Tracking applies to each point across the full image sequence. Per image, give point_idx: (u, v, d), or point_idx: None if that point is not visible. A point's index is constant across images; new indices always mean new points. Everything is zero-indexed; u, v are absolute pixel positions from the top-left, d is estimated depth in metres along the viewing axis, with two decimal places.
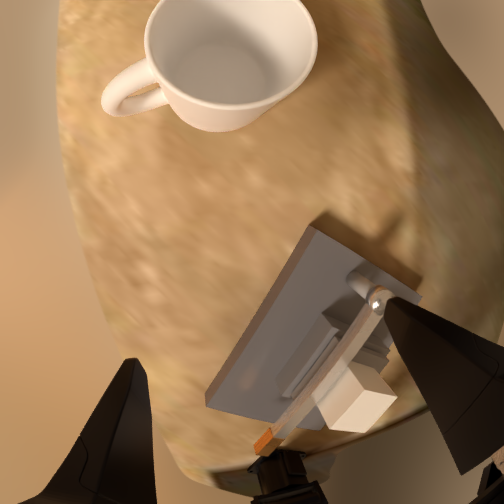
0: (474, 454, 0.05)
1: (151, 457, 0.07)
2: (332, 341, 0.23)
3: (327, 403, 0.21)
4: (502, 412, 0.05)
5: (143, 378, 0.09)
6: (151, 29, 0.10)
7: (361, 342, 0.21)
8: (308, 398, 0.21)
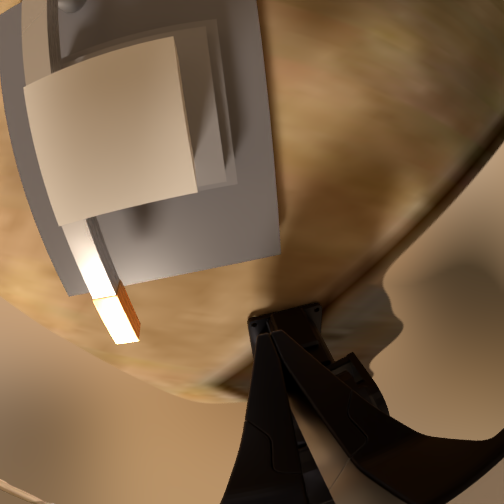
0: None
1: None
2: None
3: None
4: (365, 499, 0.04)
5: None
6: None
7: (41, 37, 0.06)
8: None
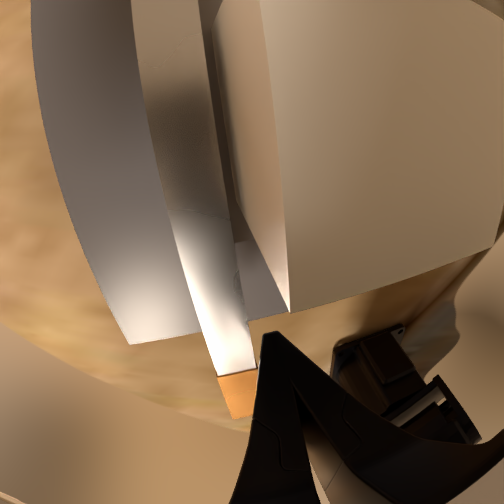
0: None
1: None
2: None
3: (248, 190, 0.05)
4: (358, 502, 0.04)
5: None
6: None
7: None
8: (170, 215, 0.06)
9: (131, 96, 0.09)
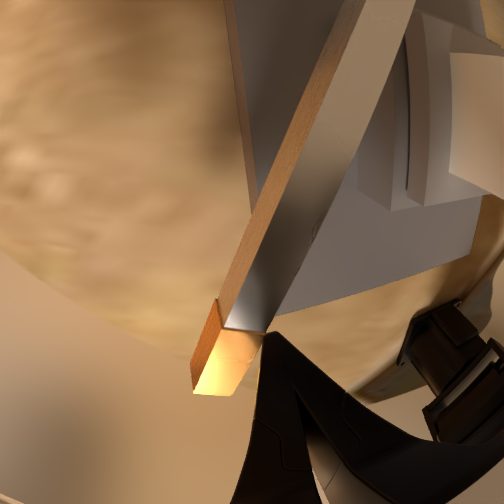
0: None
1: None
2: (407, 26, 0.06)
3: (498, 164, 0.06)
4: (358, 502, 0.04)
5: None
6: None
7: None
8: (315, 122, 0.05)
9: None
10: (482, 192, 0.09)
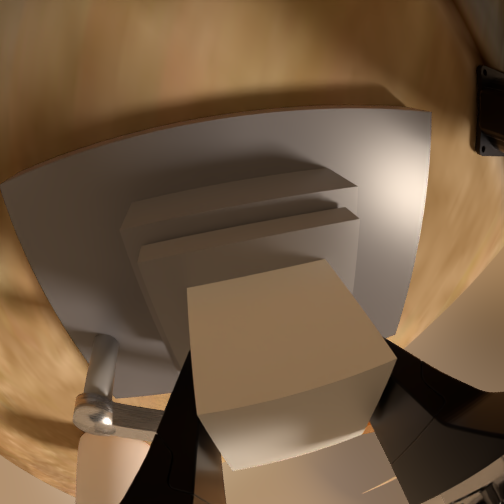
0: (421, 490, 0.05)
1: None
2: None
3: None
4: (445, 456, 0.04)
5: None
6: None
7: None
8: None
9: None
10: (349, 291, 0.10)
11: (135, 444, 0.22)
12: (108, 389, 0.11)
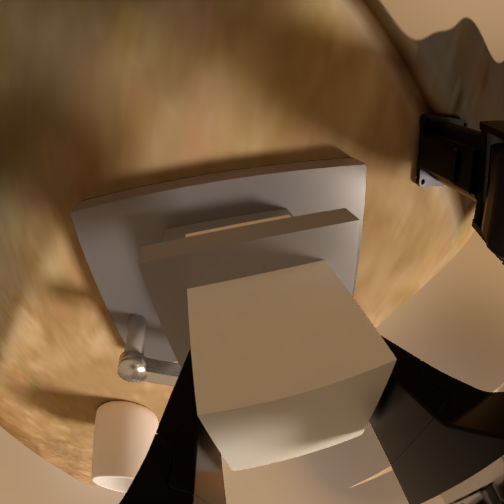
0: (421, 490, 0.05)
1: None
2: None
3: None
4: (445, 456, 0.04)
5: None
6: None
7: None
8: None
9: None
10: (349, 292, 0.10)
11: (144, 412, 0.29)
12: (142, 349, 0.19)
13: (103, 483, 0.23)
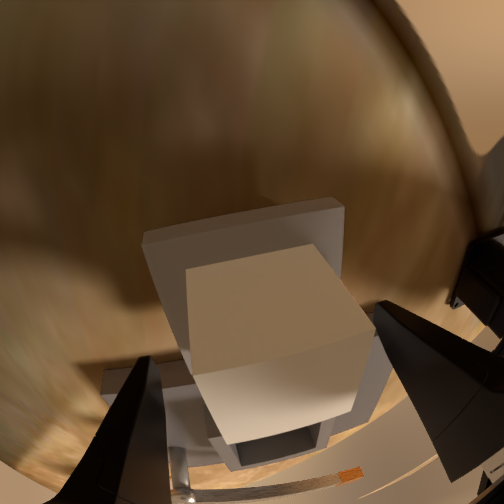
0: (464, 462, 0.05)
1: (166, 456, 0.07)
2: None
3: None
4: (491, 422, 0.05)
5: (157, 376, 0.09)
6: None
7: (227, 502, 0.17)
8: (289, 496, 0.19)
9: None
10: (337, 275, 0.11)
11: None
12: (188, 482, 0.17)
13: None
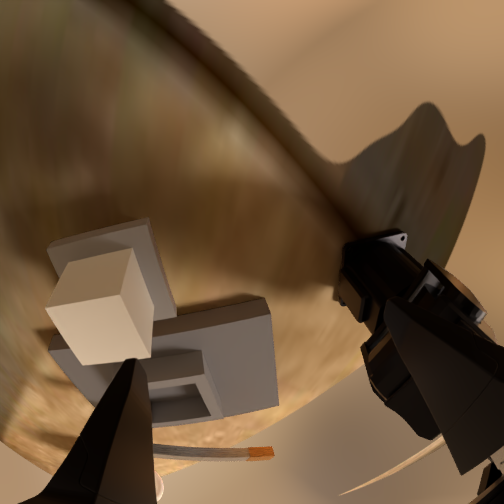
0: (474, 454, 0.05)
1: (151, 457, 0.07)
2: None
3: None
4: (502, 413, 0.05)
5: (143, 378, 0.09)
6: None
7: None
8: (199, 460, 0.25)
9: None
10: (157, 268, 0.17)
11: None
12: None
13: None
